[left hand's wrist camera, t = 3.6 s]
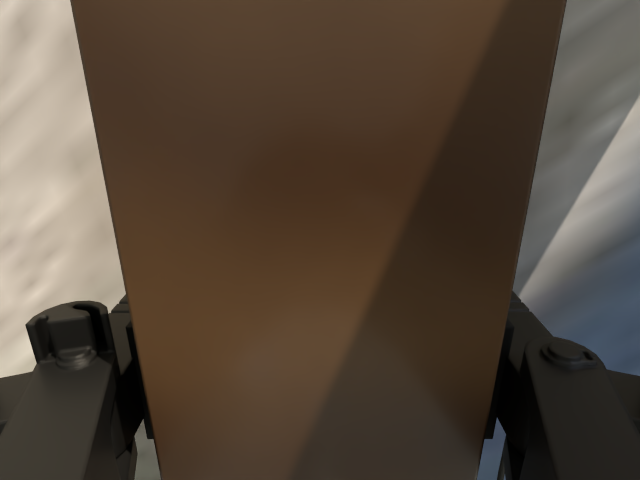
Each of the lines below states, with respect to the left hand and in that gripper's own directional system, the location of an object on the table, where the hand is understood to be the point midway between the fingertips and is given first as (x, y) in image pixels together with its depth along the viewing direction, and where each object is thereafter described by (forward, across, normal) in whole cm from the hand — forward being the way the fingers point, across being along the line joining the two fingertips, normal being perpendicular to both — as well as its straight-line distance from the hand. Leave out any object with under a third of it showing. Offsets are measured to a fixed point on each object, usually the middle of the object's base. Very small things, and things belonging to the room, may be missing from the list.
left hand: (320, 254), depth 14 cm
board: (+1, 0, -21) cm, 21 cm away
